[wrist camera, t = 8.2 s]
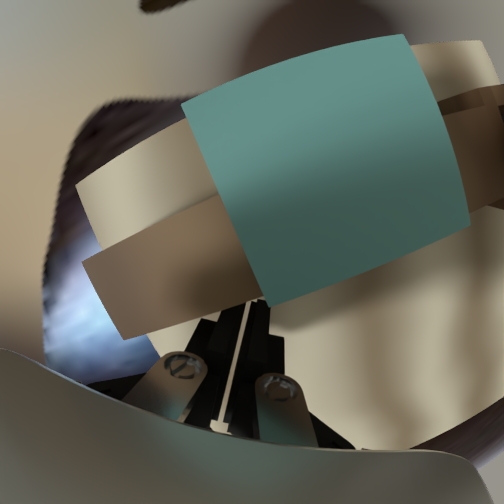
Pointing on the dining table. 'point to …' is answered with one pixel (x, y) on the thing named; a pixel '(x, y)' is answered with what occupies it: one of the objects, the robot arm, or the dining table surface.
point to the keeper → (330, 164)
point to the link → (231, 251)
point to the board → (351, 293)
